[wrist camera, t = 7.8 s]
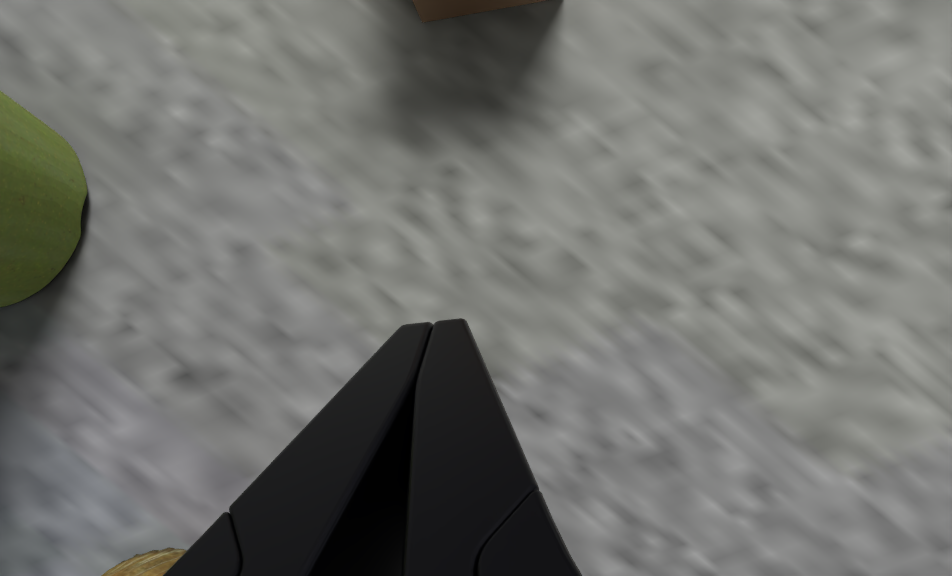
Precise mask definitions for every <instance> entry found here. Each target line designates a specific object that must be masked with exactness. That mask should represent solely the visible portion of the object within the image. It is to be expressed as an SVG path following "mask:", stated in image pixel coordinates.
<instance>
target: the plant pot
mask: <svg viewBox="0 0 952 576" xmlns="http://www.w3.org/2000/svg"><path fill="white" fill-rule="evenodd" d="M86 195H87V185H86V180H85V177H84V173H83V170H82V167H81V164H80V162H79V159H78V157H77V155H76V153H75V151H74V150H73V148H72V147H71V146H70V144H69V143H68V142H67V141H66V140H65V139H64V138H63V137H62V136H60V135H59V134H58V133H57V132H55V131H54V130H53V129H51V128H50V127H49V126H47V125H46V124H45V123H43V122H42V121H40V120H39V119H38V118H36V117H35V116H34V115H32V114H31V113H30V112H28V111H27V110H26V109H24V108H23V107H22V106H20V105H19V104H18V103H16V102H15V101H13V100H12V99H11V98H9V97H8V96H7V95H5V94H4V93H3V92H1V91H0V307H4V306H8V305H11V304H14V303H17V302H20V301H22V300H24V299H26V298H28V297H29V296H31V295H33V294H35V293H36V292H38V291H40V290H41V289H42V288H43V287H45V286H46V285H47V284H48V283H49V282H51V280H52V279H53V278H54V277H55V276H56V275H57V274H58V273H59V272H60V271H61V270H62V268H63V267H64V266H65V264H66V263H67V261H68V260H69V258H70V257H71V255H72V253H73V251H74V250H75V248H76V246H77V243H78V241H79V239H80V236H81V213H82V208H83V204H84V201H85V198H86Z"/></svg>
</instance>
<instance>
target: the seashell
mask: <svg viewBox="0 0 952 576" xmlns="http://www.w3.org/2000/svg"><path fill="white" fill-rule="evenodd" d="M185 552H186V550H184V549H174V548H167V549H163V550H160V551H159V550H154V551H150V552H147V553H145V554H142V555H139V554H136V555H135V556H134V557H133V558H130V559H128V560H126V561H123V562H121V563H120V564H118V565H116V566H115V567H113V568H111V569H110V570H108V571H107V572H106V573H104V574H103V575H102V576H163V575H164V574H165V573H166V572H167V571H168V570H169V569H170V568H171V567H172V566H173V565H174V564H175V563H176V562H177V560H178V559H179V558H180V557H181V556H182V555H183V554H184V553H185Z"/></svg>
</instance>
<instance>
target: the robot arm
mask: <svg viewBox="0 0 952 576" xmlns="http://www.w3.org/2000/svg"><path fill="white" fill-rule="evenodd" d="M229 512H230V513H228V512H225V513H223V514H222V515H221V516H220V517H219V518H218V519H217V520H216V521H215V522H214V524H213V525H212V526H211V527H210V528H209V529H208V530H207V531H206V532H205V533H204V534H203V535H202V536H201V537H200V538H199V539H198V540H197V541H196V542H195V543H194V544H193V545H192V546H191V547H190V548H189V549H188V550H187V551H186V552H185V553H184V554H183V555H182V556H181V557H180V558H179V559H178V560H177V562H176V563H175V564H174V565H173V566H172V567H171V568H170V569H169V570H168V571H167V572H166V573H165V574H164V575H163V576H582V575H581V573H580V571H579V569H578V568H577V566H576V564H575V562H574V561H573V559H572V557H571V555H570V554H569V551H568V549H567V547H566V545H565V543H564V541H563V539H562V537H561V535H560V533H559V531H558V529H557V527H556V525H555V523H554V521H553V519H552V516H551V514H550V512H549V509H548V507H547V505H546V502H545V500H544V498H543V495H542V493H541V492H540V491H539V487H538V485H537V482H536V480H535V478H534V475H533V473H532V471H531V469H530V466H529V464H528V462H527V459H526V457H525V455H524V452H523V450H522V448H521V445H520V443H519V441H518V439H517V436H516V434H515V432H514V429H513V427H512V425H511V422H510V420H509V418H508V416H507V413H506V411H505V409H504V406H503V404H502V402H501V399H500V397H499V395H498V392H497V390H496V388H495V386H494V383H493V381H492V379H491V376H490V374H489V372H488V369H487V367H486V365H485V362H484V360H483V358H482V356H481V353H480V351H479V349H478V346H477V344H476V342H475V339H474V337H473V335H472V333H471V330H470V328H469V326H468V323H467V321H466V320H465V319H461V318H460V319H451V320H442V321H437V322H436V323H434V325H433V324H432V323H430V322H424V323H415V324H406V325H403V326H401V327H400V328H399V329H398V330H397V331H396V332H395V333H394V334H393V335H392V336H391V337H390V338H389V339H388V340H387V341H386V342H385V343H384V344H383V345H382V346H381V348H380V349H379V350H378V351H377V352H376V353H375V354H374V355H373V356H372V357H371V358H370V359H369V360H368V361H367V362H366V363H365V364H364V365H363V367H362V368H361V369H360V370H359V371H358V372H357V373H356V374H355V375H354V376H353V377H352V378H351V379H350V380H349V381H348V382H347V383H346V384H345V386H344V387H343V388H342V389H341V390H340V391H339V392H338V393H337V394H336V395H335V396H334V397H333V398H332V399H331V400H330V401H329V402H328V403H327V405H326V406H325V407H324V408H323V409H322V410H321V411H320V412H319V413H318V414H317V415H316V416H315V417H314V418H313V419H312V420H311V421H310V422H309V424H308V425H307V426H306V427H305V428H304V429H303V430H302V431H301V432H300V433H299V434H298V435H297V436H296V437H295V438H294V439H293V440H292V441H291V443H290V444H289V445H288V446H287V447H286V448H285V449H284V450H283V451H282V452H281V453H280V454H279V455H278V456H277V457H276V458H275V459H274V460H273V462H272V463H271V464H270V465H269V466H268V467H267V468H266V469H265V470H264V471H263V472H262V473H261V474H260V475H259V476H258V477H257V478H256V480H255V481H254V482H253V483H252V484H251V485H250V486H249V487H248V488H247V489H246V490H245V491H244V492H243V493H242V494H241V495H240V496H239V497H238V499H237V500H236V501H235V502H234V503H233V504H232V505H231V506H230V508H229Z"/></svg>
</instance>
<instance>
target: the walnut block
mask: <svg viewBox="0 0 952 576" xmlns="http://www.w3.org/2000/svg"><path fill="white" fill-rule="evenodd" d="M412 1H413V3H414V5H415V7H416V10H417V12H418V14H419V16H420V19H421V21H422V23H423V22H429V21H434V20H440V19H446V18H451V17H457V16H463V15H468V14H474V13H480V12H485V11H491V10H496V9H502V8H508V7H513V6H519V5H525V4H530V3H536V2H542V1H547V0H412Z"/></svg>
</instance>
